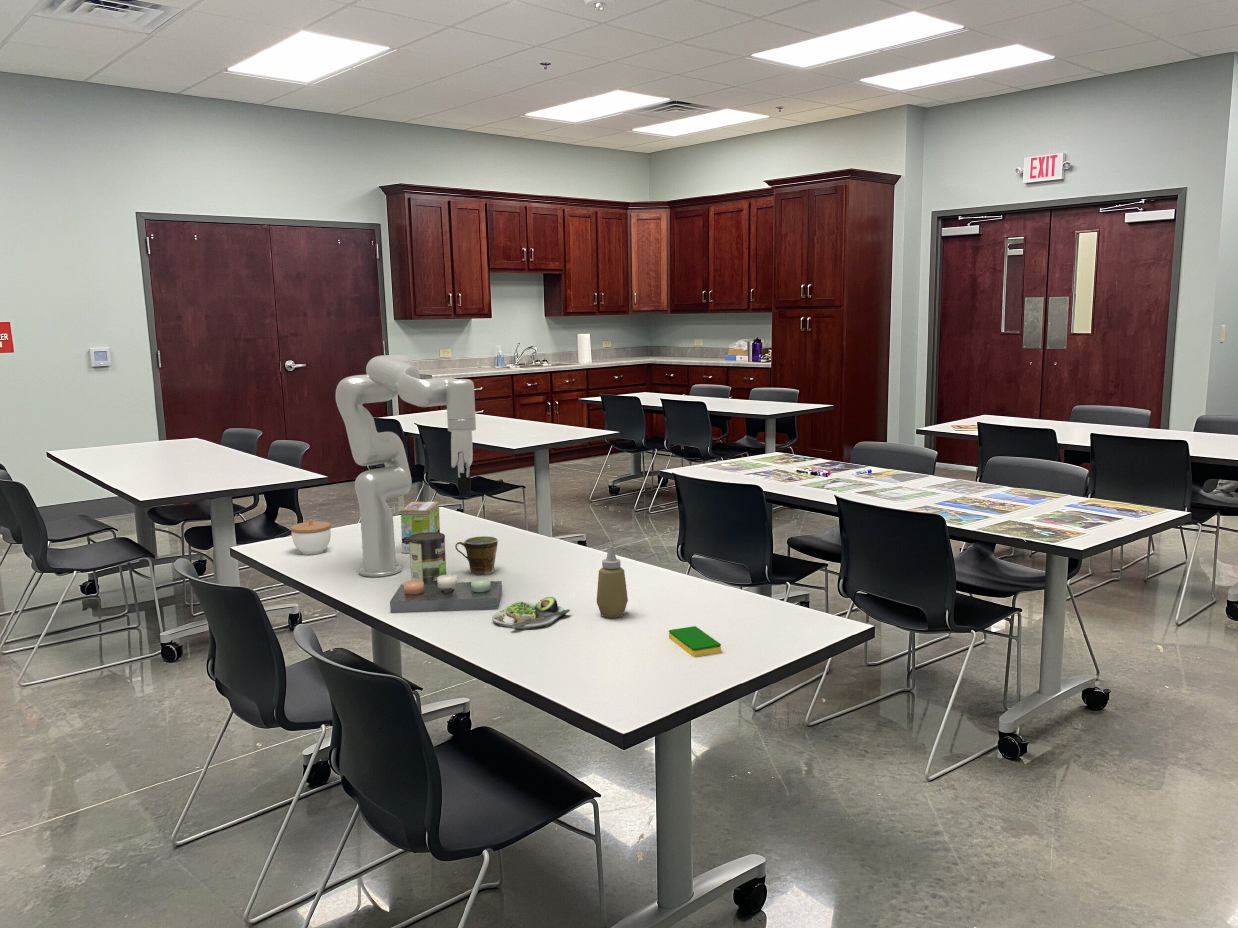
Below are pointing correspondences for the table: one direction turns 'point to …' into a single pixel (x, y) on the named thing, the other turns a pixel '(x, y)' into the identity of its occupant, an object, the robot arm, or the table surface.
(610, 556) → the squeeze bottle
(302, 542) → the lidded bowl
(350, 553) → the table surface
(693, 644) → the dish sponge
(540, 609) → the avocado toast plate
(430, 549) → the coffee can
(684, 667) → the table surface
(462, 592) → the panel
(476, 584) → the button sage
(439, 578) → the button cream
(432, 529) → the tea box
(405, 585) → the brown egg
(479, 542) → the ceramic cup
